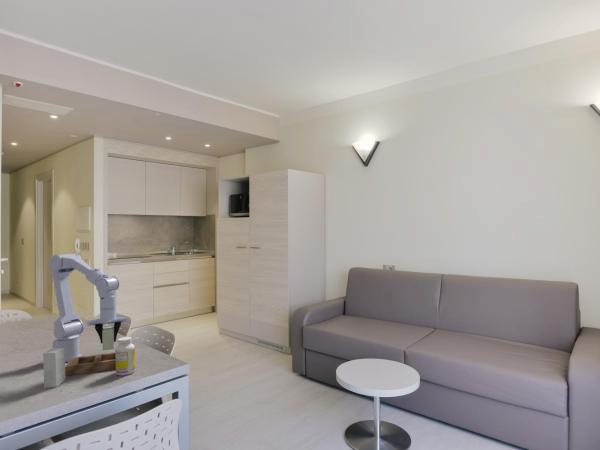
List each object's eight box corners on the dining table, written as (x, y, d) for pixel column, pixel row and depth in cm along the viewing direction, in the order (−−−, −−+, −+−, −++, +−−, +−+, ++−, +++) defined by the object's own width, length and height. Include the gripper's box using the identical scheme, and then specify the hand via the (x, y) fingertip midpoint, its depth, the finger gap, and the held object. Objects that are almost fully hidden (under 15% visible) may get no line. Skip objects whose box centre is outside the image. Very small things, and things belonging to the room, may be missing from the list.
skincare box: (53, 381, 136) (52, 347, 136) (65, 380, 137) (65, 347, 137) (43, 388, 130) (42, 353, 130) (56, 387, 131) (55, 352, 131)
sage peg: (102, 350, 149) (102, 330, 149) (103, 347, 153) (103, 327, 153) (113, 349, 151) (113, 328, 151) (114, 346, 154) (114, 326, 155)
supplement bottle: (129, 368, 148) (129, 334, 148) (138, 371, 144) (138, 337, 144) (112, 373, 143) (111, 339, 143) (120, 377, 139) (120, 342, 139)
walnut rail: (65, 375, 141) (65, 366, 141) (70, 366, 151) (70, 357, 151) (124, 367, 149) (124, 359, 149) (126, 358, 159) (126, 350, 159)
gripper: (85, 311, 145) (86, 347, 145) (127, 307, 151) (128, 342, 151) (88, 308, 152) (88, 342, 152) (128, 304, 157) (128, 337, 157)
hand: (108, 342), depth 152 cm, fingers closed on sage peg, 4 cm apart
